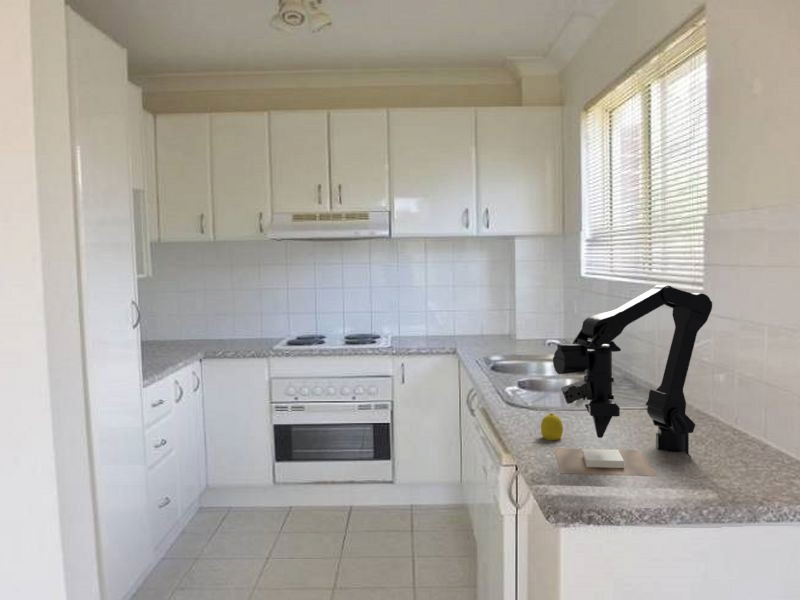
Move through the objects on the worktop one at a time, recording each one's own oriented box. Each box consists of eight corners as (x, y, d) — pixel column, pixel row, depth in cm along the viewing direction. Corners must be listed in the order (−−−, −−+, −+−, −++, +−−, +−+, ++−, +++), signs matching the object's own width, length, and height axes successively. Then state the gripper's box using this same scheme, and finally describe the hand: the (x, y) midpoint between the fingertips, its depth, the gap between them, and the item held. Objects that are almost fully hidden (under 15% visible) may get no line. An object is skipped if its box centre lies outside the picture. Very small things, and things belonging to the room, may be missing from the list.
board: (640, 456, 152) (640, 450, 152) (657, 482, 134) (657, 475, 134) (554, 454, 155) (554, 448, 155) (560, 480, 138) (560, 473, 138)
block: (618, 449, 147) (624, 460, 139) (618, 457, 147) (624, 468, 139) (582, 449, 148) (586, 459, 141) (582, 456, 149) (586, 467, 141)
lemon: (547, 447, 161) (547, 416, 160) (537, 441, 166) (536, 411, 166) (567, 445, 162) (566, 414, 162) (556, 439, 168) (555, 409, 167)
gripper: (560, 364, 158) (561, 426, 159) (566, 378, 139) (567, 448, 140) (606, 364, 156) (607, 426, 157) (619, 379, 137) (620, 449, 138)
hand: (599, 437), depth 148 cm, fingers closed
